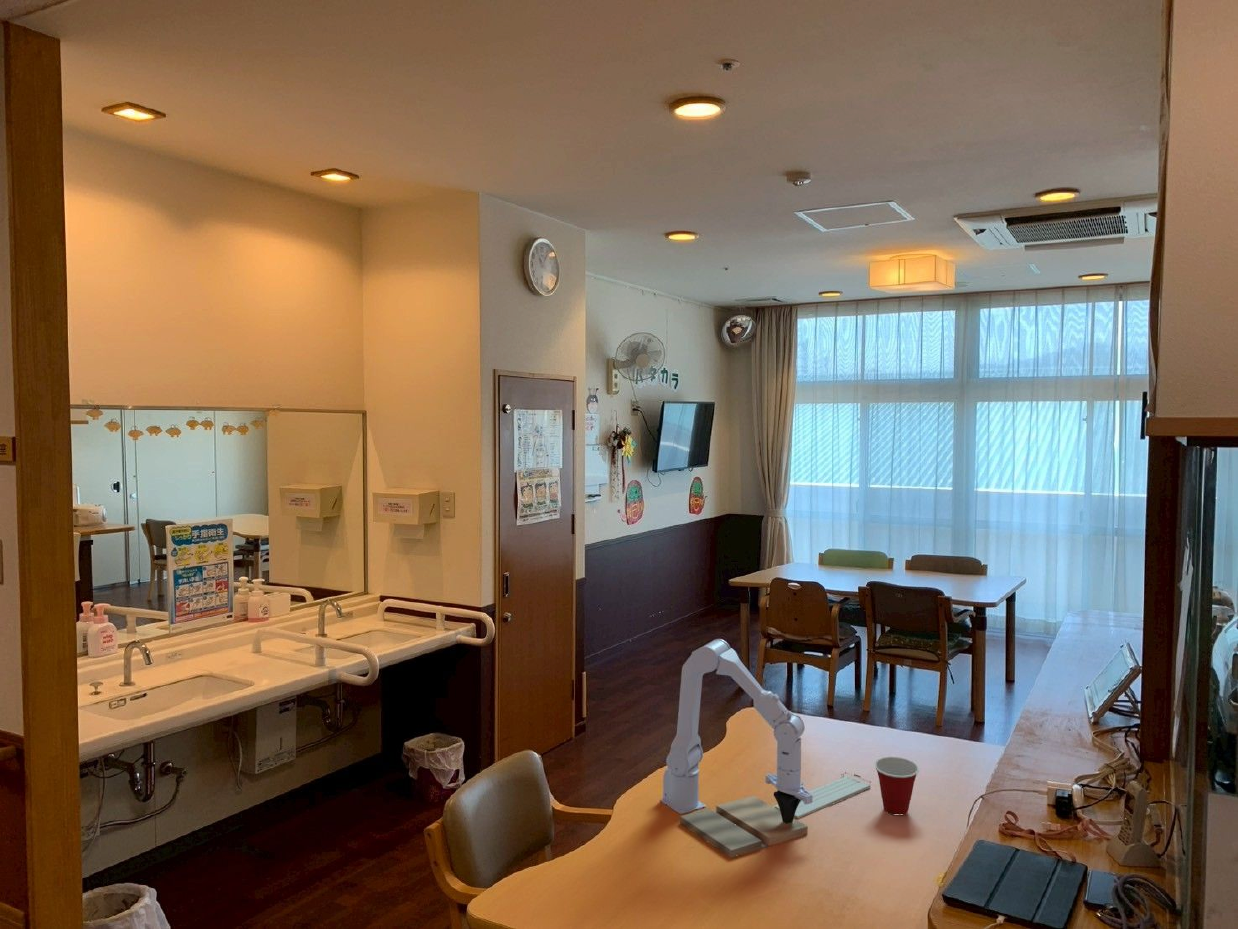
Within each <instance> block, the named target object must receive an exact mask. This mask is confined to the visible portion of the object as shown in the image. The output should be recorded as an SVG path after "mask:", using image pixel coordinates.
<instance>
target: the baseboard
mask: <svg viewBox="0 0 1238 929" xmlns="http://www.w3.org/2000/svg"><path fill="white" fill-rule="evenodd" d="M844 774H845V773H841V774H840V775H841V778H839V779H837V780H834V781H832V782H829V783H826V784H824V785H821V786H820V787H817V788H814V789H812V790H810V791H808V792H809V793H810V794H812V795H813V801H812V803H810V804H807V805H806V804H804V801H802V800H801V801H800V803H799V805H798V807H797V809H796V812H795V815H794V819H796V818H797V819H796V820H799V819H801V818H803V816H804V817H806V816H808V815H811V814H813V813H815V812H817V811H819V809H820V810H822V809H824V808H827V807H831V806H833V805H834V804H833V803H835V804H837V802H838V803H840V802H842V801H845V800H846V798H847V799H849V798H852V797H853V795H854V796H856V795H858V794H860V792H861V793H863V792H865V791H867V790H866V789H868V788H870V789H871V783H872V782H871V781H868V780H867V782H869V783H866V782H865V779H863V778H861V777H862V776H861V775H858V774H855V773H854V774H853V775H852V774H851V776H852V777H855V778H859V779H860V780H858V779H855V778H852V777H850V776H844ZM846 774H848V775H849V773H847V772H846ZM861 780H863V781H864V782H863V781H861ZM864 790H865V791H864ZM868 790H869V789H868ZM862 791H863V792H862ZM857 793H858V794H857ZM855 794H856V795H855ZM844 799H845V800H844ZM841 800H842V801H841ZM832 804H833V805H832ZM830 805H831V806H830ZM772 807H774V808H776V809H778V810H780V808H779V805H778V804H776V805H773V806H772ZM807 814H808V815H807ZM805 815H806V816H805Z"/></svg>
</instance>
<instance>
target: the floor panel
mask: <svg viewBox="0 0 1238 929" xmlns="http://www.w3.org/2000/svg"><path fill="white" fill-rule="evenodd" d="M679 824H680V825H681V824H682V825H681V826H683V827H684V828H686V829H687V830H689V829H690V830H691V831H690V830H689V831H690V832H692V833H693V832H694V833H693V834H695V835H696V834H697V836H698V837H699V836H700V837H699V838H701V839H702V840H703V841H705V840H706V841H705V842H707V841H708V842H709V843H708V842H707V843H708V844H709V845H711V846H713V847H714V846H715V847H716V849H717V850H718V849H719V851H720V850H721V851H722V852H721V851H720V852H721V853H722V854H724V853H725V854H724V855H726V856H727V855H728V857H729V856H730V857H731V859H733V858H732V857H734V858H736V857H735V856H736V855H740V856H742V855H741V854H743V855H746V854H748V852H749V853H752V852H755V851H758V850H762V849H764V847H765V848H767V847H768V845H766V844H765V843H763V842H762V841H761V840H760V839H758V838H756V837H755V836H753V835H752V834H750V833H748V832H747V831H745V830H744V829H742V828H740V827H739V826H737V825H735V824H734V823H732V822H731V821H729V820H727V819H726V818H724V817H723V816H721V815H719V814H718V813H716V810H713V809H712V808H703V809H699V810H698V811H697V810H696V811H694V812H693V811H692V812H691V813H690V812H689V813H687V814H686V813H685V814H684V815H680V816H679ZM715 847H714V848H715ZM761 848H762V849H761ZM754 850H755V851H754ZM745 853H746V854H745ZM730 857H729V858H730Z"/></svg>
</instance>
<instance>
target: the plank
mask: <svg viewBox="0 0 1238 929" xmlns="http://www.w3.org/2000/svg"><path fill="white" fill-rule="evenodd" d="M715 812H716V813H718V814H719V815H721V816H723V817H724V818H726V819H727V820H729V821H731V822H732V823H734V824H736V825H737V826H739V827H740V828H742V829H744V830H745V831H747V832H748V833H750V834H752V835H753V836H755V837H756V838H758V839H760V840H761V841H762V843H764V844H765V845H767V846H768V845H771V846H774V845H776V844H780V843H784V842H786V841H790V840H792V839H795V838H799V837H802V836H805V835H807V834H808V831H809V830H808V829H809V828H808V827H809V826H808V825H806V824H804V822H801V821H799V820H798V819H796V818H794V819H793V822H791V823H788V824H786V823H784V822H783V820H782V816H781V812H780V810H778V809H776V808H774V807H773V806H772V805H771V804H769V803H767V802H766V801H764V800H761V799H760V798H758V797H756V796H755V795H751V796H748V797H744V798H740V799H736V800H735V799H734V800H731V801H728V802H724V803H720V804H716V806H715ZM804 834H805V835H804Z"/></svg>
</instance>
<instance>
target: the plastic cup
mask: <svg viewBox="0 0 1238 929" xmlns="http://www.w3.org/2000/svg"><path fill="white" fill-rule="evenodd" d="M874 767H875V769H876V771H877V777H878V781H879V788H880V795H881V798H882V800H881V801H882V806H883V809H884V810H885V811H884V810H883V811H884V812H886V813H887V812H888V813H887V814H889V813H890V814H889V815H892V814H905V815H907V814H908V811H909V808H910V804H911V800H912V795H913V791H914V790H913V789H914V785H915V781H916V777H917V776H918V775H917V774H918V773H919V772H920V767H919V765H918V764H917V763H915V762H914V761H912V760H910V759H908V758H903V757H899V756H886V757H885V756H884V757H880V758H878V759H877V760H875V761H874ZM906 813H907V814H906Z"/></svg>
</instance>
